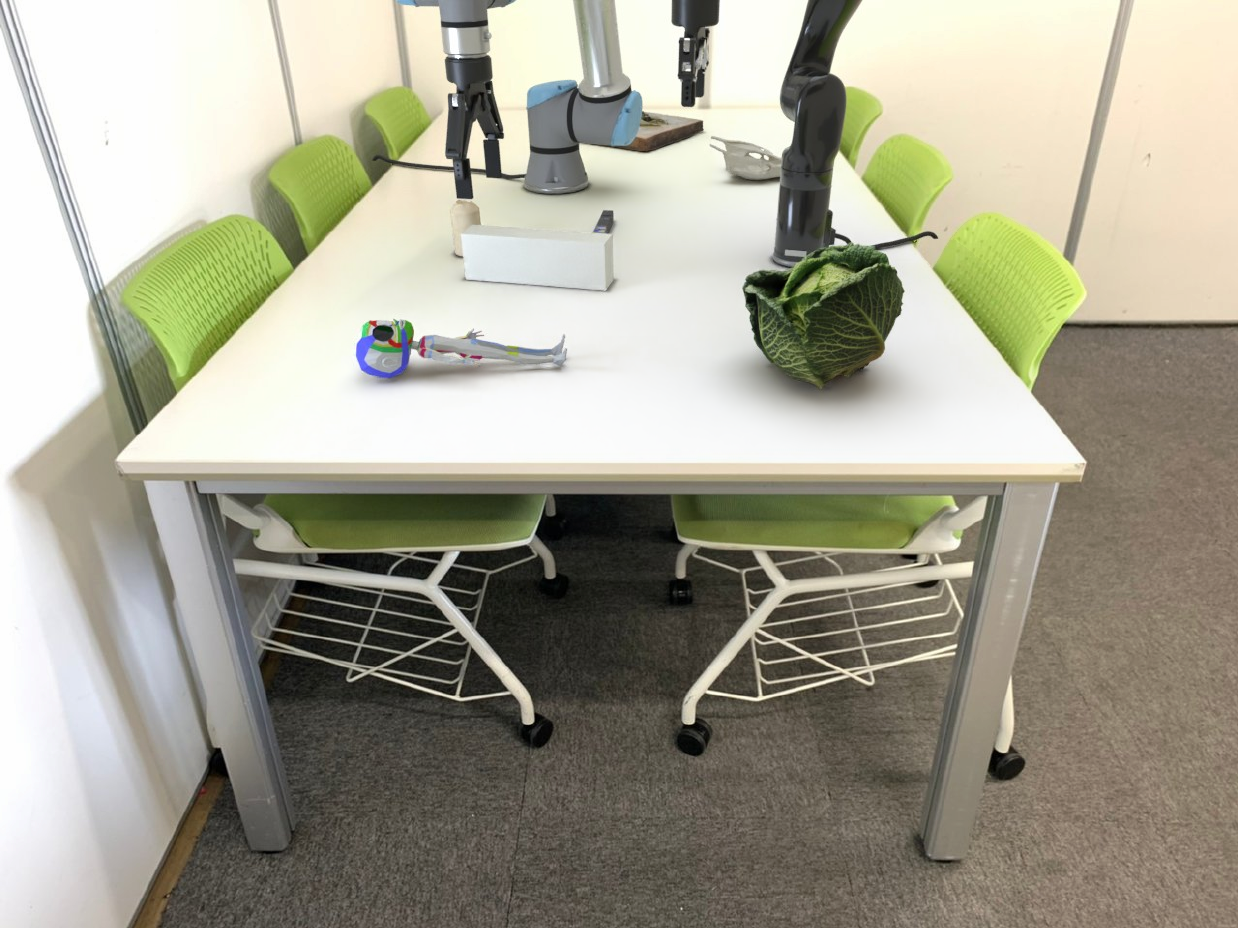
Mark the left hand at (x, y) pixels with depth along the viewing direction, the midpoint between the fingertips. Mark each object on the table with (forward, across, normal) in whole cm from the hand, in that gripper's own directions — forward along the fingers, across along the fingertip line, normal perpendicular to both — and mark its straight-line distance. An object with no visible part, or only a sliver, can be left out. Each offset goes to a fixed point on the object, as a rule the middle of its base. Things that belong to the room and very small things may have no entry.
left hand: (480, 188), depth 156 cm
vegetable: (+16, -27, -61) cm, 69 cm away
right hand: (-14, +9, -36) cm, 39 cm away
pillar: (+16, +26, -15) cm, 34 cm away
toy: (+16, -37, -11) cm, 42 cm away
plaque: (+16, +116, 0) cm, 117 cm away
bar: (+16, 0, -10) cm, 19 cm away
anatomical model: (+16, +77, -41) cm, 89 cm away
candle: (+16, +11, +8) cm, 21 cm away
